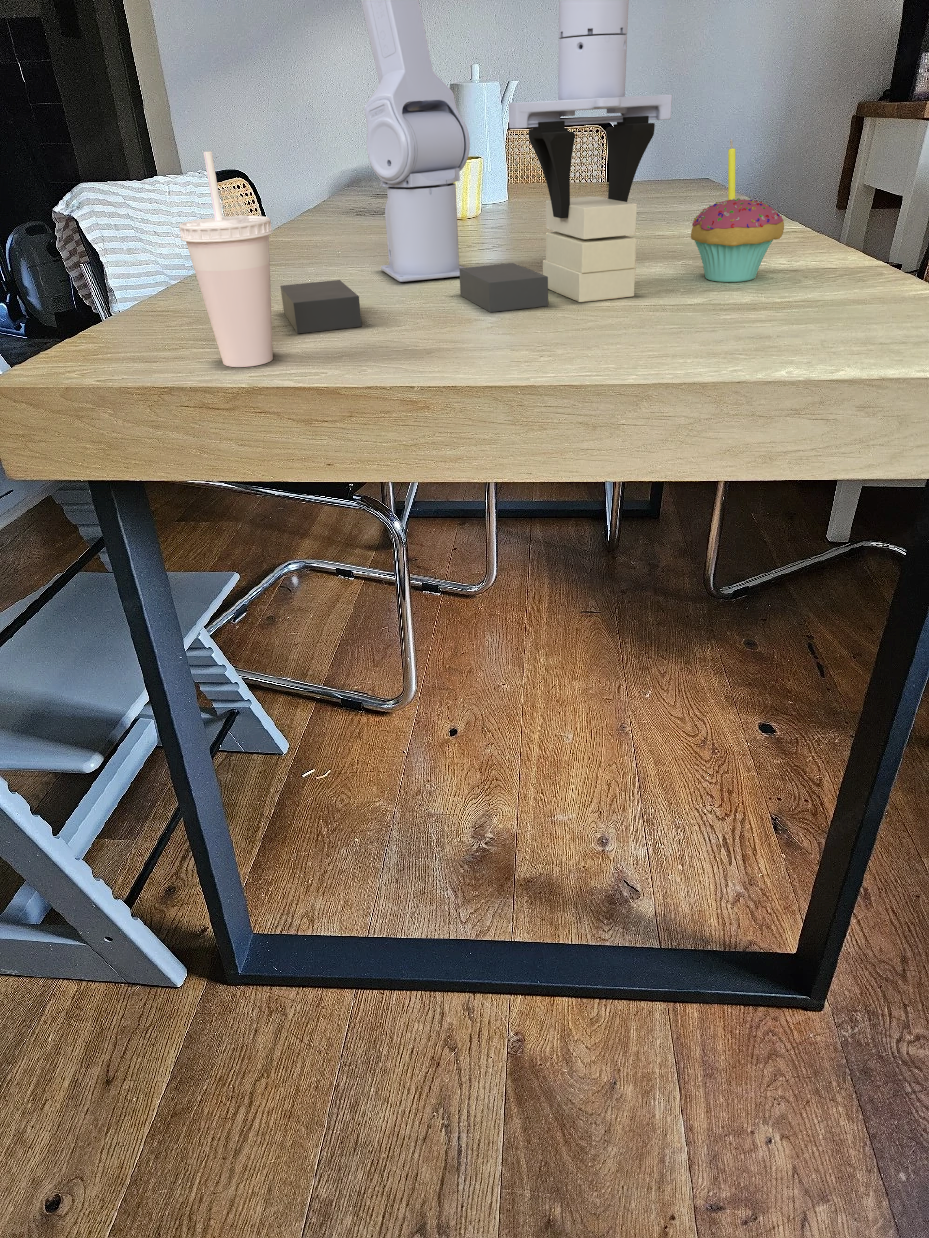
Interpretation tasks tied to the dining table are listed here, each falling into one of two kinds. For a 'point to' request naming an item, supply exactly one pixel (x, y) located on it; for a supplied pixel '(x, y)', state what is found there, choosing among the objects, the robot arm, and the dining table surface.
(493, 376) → the dining table surface
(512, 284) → the grey book
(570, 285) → the cream stack
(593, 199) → the cream book
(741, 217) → the cupcake
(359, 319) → the grey book
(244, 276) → the smoothie
